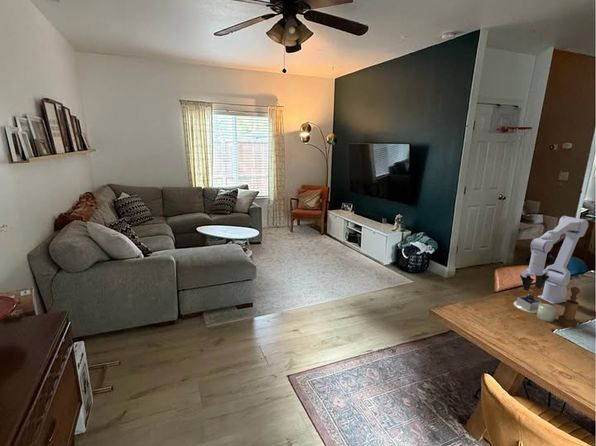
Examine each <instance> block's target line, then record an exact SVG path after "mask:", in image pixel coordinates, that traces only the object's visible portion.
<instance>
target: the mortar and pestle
mask: <svg viewBox="0 0 596 446" xmlns="http://www.w3.org/2000/svg"><path fill="white" fill-rule="evenodd" d="M570 292H571V295H570V297H569V298H570V299H567V300H566V302H565V308H564V310H563V314H562V315H559V316H558V319H557V322H558V324H560V325H562V326H564V327H568V328H573V329H574V328H577V324H578V321H577V320H576V318H575V317H576V314H577V310H578V307H579V302H578V301H577V300H578V297H577V295H578V294H580V293H581V290H580V288H579V287H577V286H572V287H571V288H570Z"/></svg>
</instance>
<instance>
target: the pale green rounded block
mask: <svg viewBox="0 0 596 446" xmlns="http://www.w3.org/2000/svg"><path fill="white" fill-rule="evenodd" d="M556 313H557V307H556V306H554V305H553V304H552V305H551V304H547V303H542V304H539V308H538V312H537V313H536V317H537V318H538V319H539V320H542V321H545V322H548V323H549V322H550V323H551V322H554V321H555V317H556V315H557V314H556Z"/></svg>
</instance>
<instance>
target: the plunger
mask: <svg viewBox="0 0 596 446" xmlns="http://www.w3.org/2000/svg"><path fill="white" fill-rule="evenodd" d="M525 296H526V298H528V302H529V303H530V301H531V300H533V299H535V294H532V293H526V295H525Z"/></svg>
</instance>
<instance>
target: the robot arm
mask: <svg viewBox="0 0 596 446" xmlns="http://www.w3.org/2000/svg"><path fill="white" fill-rule="evenodd" d="M588 228H589V221H588V219H584V218H577V217H572V216H567V215H562V216H561V217H560V218H559V221H558V223H557V225H556V226H555V227H554V229H552V230H551V229H550V230H548V231H546V232H544V234H543V235H541V236H540V237H536V238H535V237H534V238H533V239H532V241H531V242H530V245H529V246H530V253H531V255H530V259H529V260H530V261H529V265H528V268H526V269H525V270H524V271H523V272H521V274H520V275H519V278H520V279H521V281H522V288H523V290H524V291H529V290H530V288H531V285H532V283H533V282H534V281H535V282H534V283H535V284H534V286H535V288H537V289H538V290H541V289H542V287H543V285H544V287H543V290H542V294H541V295H538V296H537V298H539V299H541V300H544V301H546V302H549V303H550V304H552V305H555V304H560V303H564V302H565V303H566V302H567V300H566V299H565V298H566V294H567V286H568V285H569V283H570V280H571V279H570V278H571V272H570V271H569V270H568V268H567V266H568V264H569V262H570V259H571V258H572V255H573V253H574V250H575V248H576V245H577V243H578V241H579V239H580V238H582V237H584V236H585V235H586V232H587V230H588ZM563 234H564V235H565V238H564V239H563V243H562V244H561V246H560V249H559V252H558V254H557V257H556V259H555V261H554V263H553V264H550V265H547V266H546V268H545V265H546V260H547V255H548V253H549V252H550V251H551V250H552V248H553V247H554V244H555V243H556V242H558V241H560V239H561V236H562V235H563ZM533 276H535V277H534V278H535V279H533V278H532V277H533Z"/></svg>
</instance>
